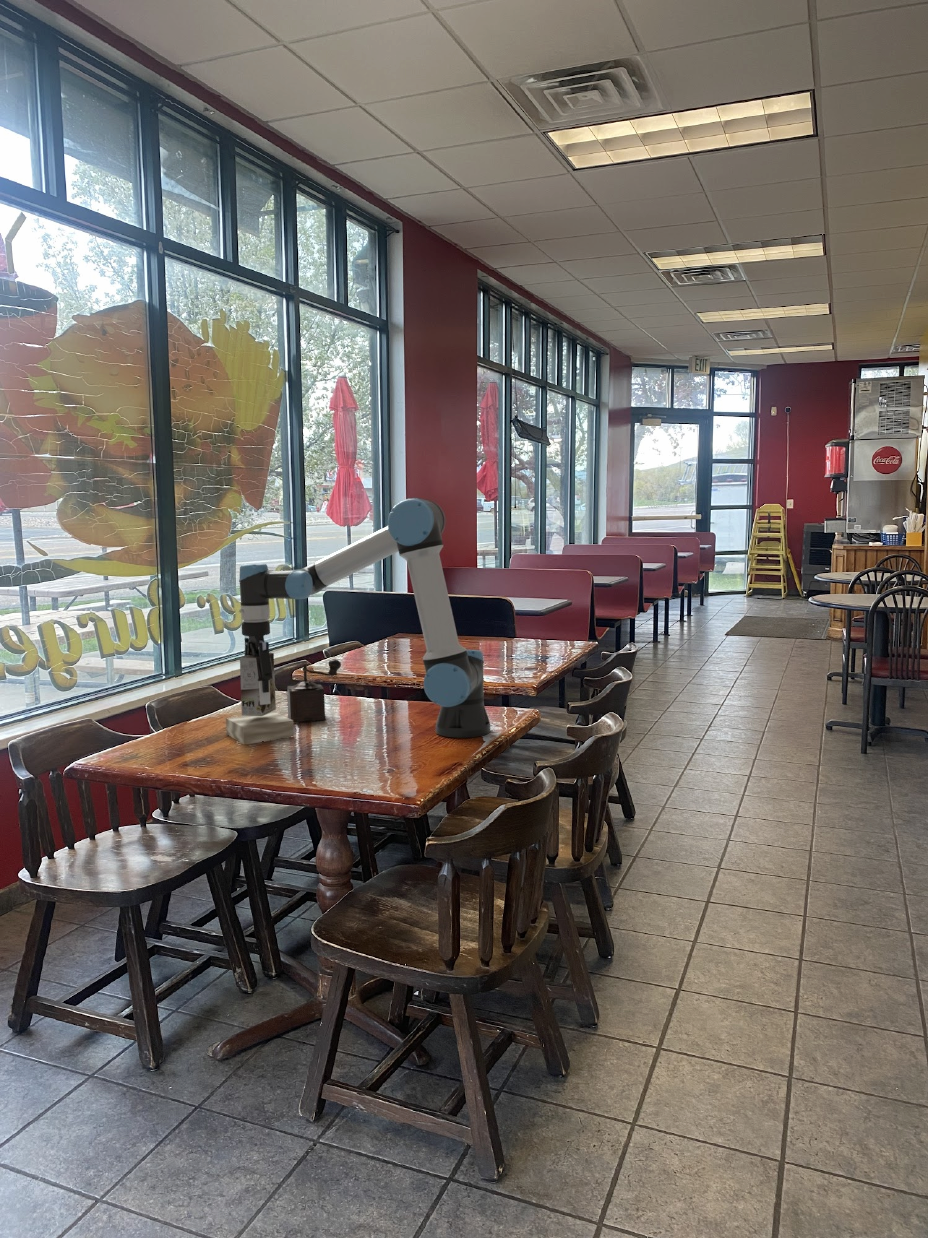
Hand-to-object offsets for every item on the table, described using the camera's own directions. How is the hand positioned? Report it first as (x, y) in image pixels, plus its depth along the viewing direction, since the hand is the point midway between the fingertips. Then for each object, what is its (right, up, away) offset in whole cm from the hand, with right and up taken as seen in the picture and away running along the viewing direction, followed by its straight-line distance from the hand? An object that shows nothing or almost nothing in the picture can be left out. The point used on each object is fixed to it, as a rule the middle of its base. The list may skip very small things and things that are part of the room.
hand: (258, 700), depth 248 cm
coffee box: (0, -4, 0) cm, 4 cm away
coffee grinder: (+12, -7, +23) cm, 27 cm away
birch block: (0, -10, +1) cm, 10 cm away
